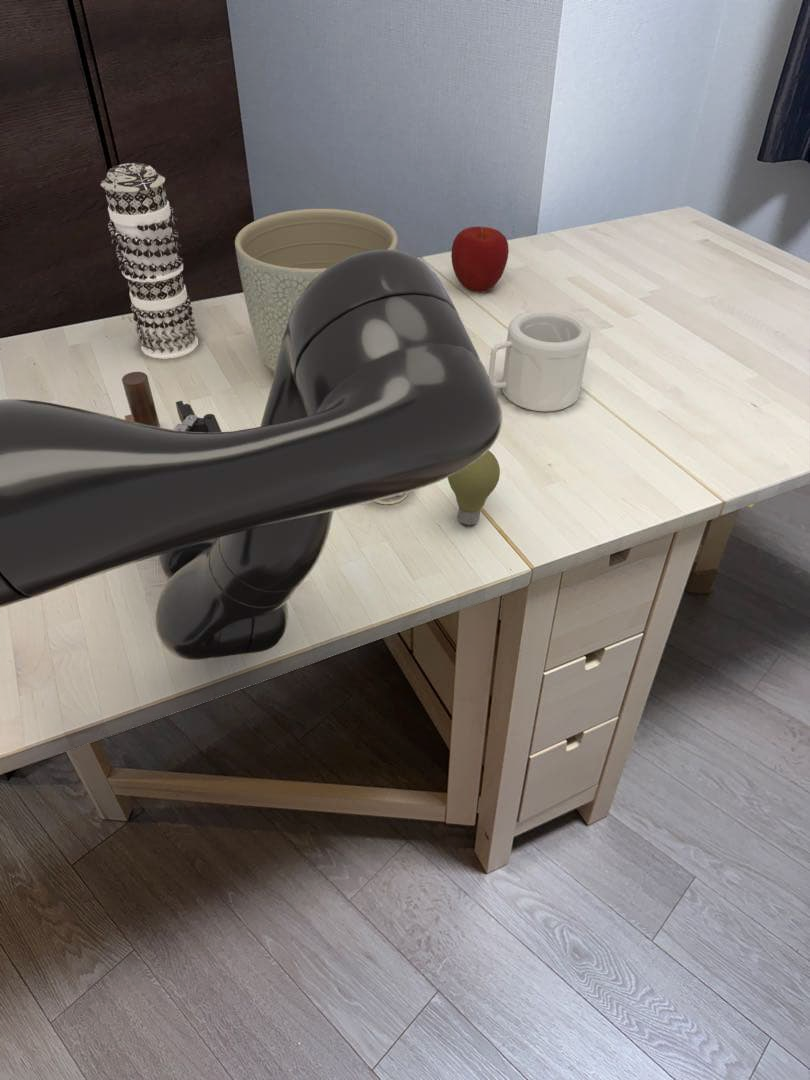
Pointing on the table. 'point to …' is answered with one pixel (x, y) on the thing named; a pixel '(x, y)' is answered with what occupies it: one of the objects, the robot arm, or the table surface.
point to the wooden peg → (140, 398)
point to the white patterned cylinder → (150, 259)
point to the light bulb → (474, 486)
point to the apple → (479, 257)
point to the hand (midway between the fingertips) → (142, 416)
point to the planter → (297, 262)
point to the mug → (543, 359)
